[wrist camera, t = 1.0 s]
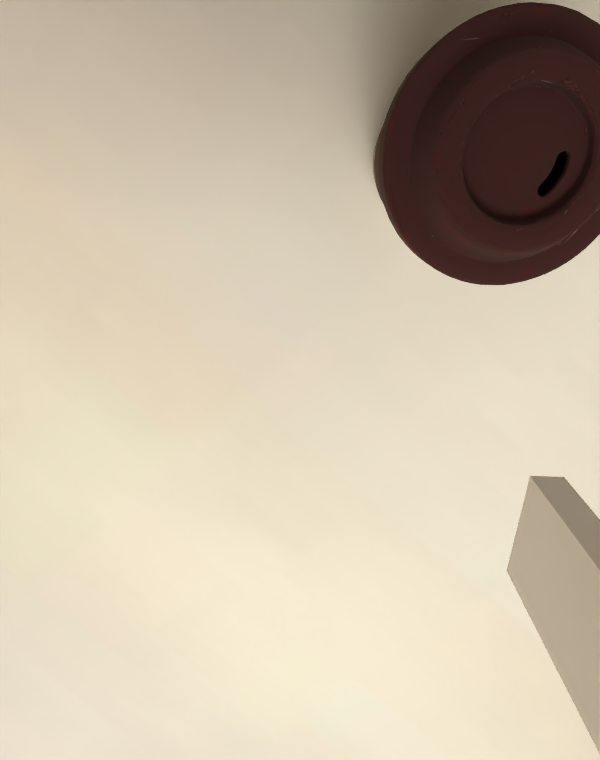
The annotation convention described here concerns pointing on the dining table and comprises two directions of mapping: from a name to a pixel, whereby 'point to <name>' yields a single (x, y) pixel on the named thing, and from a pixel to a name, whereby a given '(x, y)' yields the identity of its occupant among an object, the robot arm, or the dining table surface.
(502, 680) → the dining table surface
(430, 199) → the coffee cup
